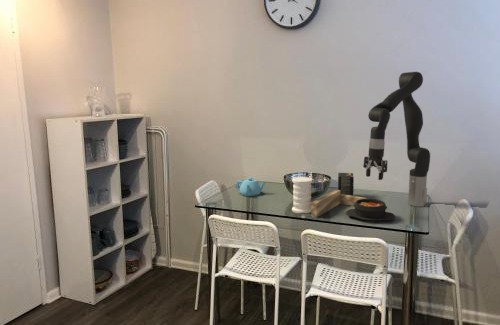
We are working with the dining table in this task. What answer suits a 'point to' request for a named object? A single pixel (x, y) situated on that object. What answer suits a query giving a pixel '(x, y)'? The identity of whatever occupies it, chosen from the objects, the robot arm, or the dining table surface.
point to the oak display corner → (331, 202)
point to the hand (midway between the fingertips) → (374, 178)
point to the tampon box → (346, 183)
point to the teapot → (249, 187)
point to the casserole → (370, 210)
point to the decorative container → (302, 195)
